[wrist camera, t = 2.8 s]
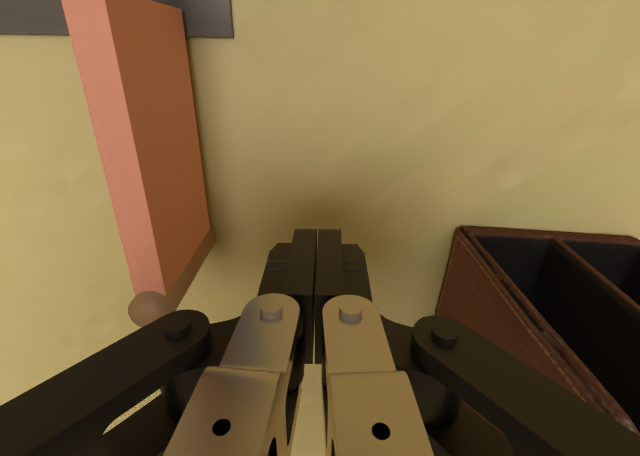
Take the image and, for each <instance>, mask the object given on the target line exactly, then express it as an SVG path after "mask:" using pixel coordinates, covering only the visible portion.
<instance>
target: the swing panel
mask: <svg viewBox="0 0 640 456" xmlns="http://www.w3.org/2000/svg"><path fill="white" fill-rule="evenodd" d="M61 2H62V6H63V10H64V14H65V18H66V22H67V26H68V30H69V34H70V38H71V42H72V46H73V50H74V54H75V58H76V62H77V65H78V69H79V73H80V77H81V81H82V85H83V89H84V93H85V97H86V101H87V105H88V109H89V113H90V117H91V121H92V125H93V129H94V133H95V137H96V141H97V145H98V149H99V153H100V157H101V161H102V165H103V169H104V173H105V177H106V181H107V185H108V189H109V192H110V196H111V200H112V204H113V208H114V212H115V216H116V220H117V224H118V228H119V232H120V236H121V240H122V244H123V248H124V252H125V256H126V260H127V264H128V268H129V272H130V276H131V280H132V284H133V288H134V292H135V298H134V299H133V300H132V301H131V303H130V304H129V307H128V314H129V316H130V318H131V320H132V321H133V322H134V323H135V324H137V325H138V326H140V327H144V326H146V325H148V324H149V323H151V322H153V321H155V320H157V319H158V318H160V317H162V316H164V315H166V314H169V313H171V312H175V311H176V309H177V307H178V305H179V304H180V302H181V300H182V298H183V297H184V295H185V293H186V292H187V290H188V288H189V286H190V285H191V283H192V281H193V279H194V278H195V276H196V274H197V272H198V271H199V269H200V267H201V266H202V264H203V262H204V260H205V259H206V257H207V255H208V253H209V252H210V250H211V248H212V246H213V245H214V243H215V236H214V233H213V232H212V230H211V229H210V224H209V216H208V209H207V201H206V193H205V186H204V178H203V170H202V163H201V155H200V147H199V140H198V132H197V124H196V117H195V109H194V101H193V94H192V86H191V78H190V70H189V63H188V55H187V47H186V40H185V32H184V24H183V17H182V9H179V8H176V7H172V6H169V5H165V4H161V3H158V2H154V1H150V0H61Z"/></svg>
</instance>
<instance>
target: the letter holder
mask: <svg viewBox="0 0 640 456" xmlns="http://www.w3.org/2000/svg"><path fill="white" fill-rule="evenodd" d="M435 316H444V317H449V318H452V319H454V320H457V321H459V322H460V323H462V324H464V325H465V326H467V327H469V328H470V329H472V330H473V331H475V332H476V333H478V334H480V335H481V336H483V337H484V338H486V339H488V340H489V341H491V342H492V343H494V344H495V345H497V346H499V347H500V348H502V349H503V350H505V351H506V352H508V353H510V354H511V355H513V356H514V357H516V358H518V359H519V360H521V361H522V362H524V363H525V364H527V365H529V366H530V367H532V368H533V369H535V370H536V371H538V372H540V373H541V374H543V375H544V376H546V377H548V378H549V379H551V380H552V381H554V382H555V383H557V384H559V385H560V386H562V387H563V388H565V389H566V390H568V391H570V392H571V393H573V394H574V395H576V396H578V397H579V398H581V399H582V400H584V401H585V402H587V403H589V404H590V405H592V406H593V407H595V408H597V409H598V410H600V411H601V412H603V413H604V414H606V415H608V416H609V417H611V418H612V419H614V420H615V421H617V422H619V423H620V424H622V425H623V426H625V427H627V428H628V429H630V430H631V431H633V432H634V433H636V434H638V435H639V436H640V240H638V239H637V238H634V237H631V236H615V235H599V234H584V233H568V232H553V231H537V230H523V229H509V228H493V227H474V226H464V227H459V228H457V229H456V233H455V237H454V241H453V245H452V250H451V254H450V259H449V263H448V267H447V272H446V276H445V280H444V284H443V288H442V292H441V296H440V300H439V303H438V307H437V310H436V315H435ZM462 402H463V403H464V404H465V405H467V406H468V407H469V408H470V409H472V410H473V411H474V412H475V413H476V414H478V415H479V416H480V417H481V418H483V419H484V420H485V421H486V422H488V423H489V424H490V425H491V426H493V427H494V428H495V429H496V430H498V431H499V432H500V433H501V434H502V435H504V434H503V433H502V432H501V431H500V430H499V429H498V428H496V427H495V426H494V425H493V424H491V423H490V422H489V421H488V420H486V419H485V418H484V417H483V416H481V415H480V414H479V413H478V412H476V411H475V410H474V409H473V408H471V407H470V406H469V405H468V404H466V403H465V402H464V401H463V400H462ZM504 436H505V435H504ZM505 437H506V436H505ZM506 438H507V437H506Z"/></svg>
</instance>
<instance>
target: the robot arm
mask: <svg viewBox="0 0 640 456" xmlns="http://www.w3.org/2000/svg"><path fill="white" fill-rule="evenodd" d="M314 325H315V364H322V387H321V392H322V407H323V422H324V437H325V452H326V456H640V436H639V435H638V434H636V433H634V432H633V431H631V430H630V429H628V428H627V427H625V426H623V425H622V424H620V423H619V422H617V421H615V420H614V419H612V418H611V417H609V416H608V415H606V414H604V413H603V412H601V411H600V410H598V409H597V408H595V407H593V406H592V405H590V404H589V403H587V402H585V401H584V400H582V399H581V398H579V397H578V396H576V395H574V394H573V393H571V392H570V391H568V390H566V389H565V388H563V387H562V386H560V385H559V384H557V383H555V382H554V381H552V380H551V379H549V378H548V377H546V376H544V375H543V374H541V373H540V372H538V371H536V370H535V369H533V368H532V367H530V366H529V365H527V364H525V363H524V362H522V361H521V360H519V359H518V358H516V357H514V356H513V355H511V354H510V353H508V352H506V351H505V350H503V349H502V348H500V347H499V346H497V345H495V344H494V343H492V342H491V341H489V340H488V339H486V338H484V337H483V336H481V335H480V334H478V333H476V332H475V331H473V330H472V329H470V328H469V327H467V326H465V325H464V324H462V323H460V322H459V321H457V320H454V319H452V318H449V317H444V316H427V317H423V318H421V319H420V320H418V321H417V322H416V323H415V325H414V327H409V326H405V325H401V324H398V323H395V322H392V321H390V320H388V319H386V318H384V317H383V316H382V315H380V314H379V311H378V309H377V307H376V306H375V305H374V304H373V302H372V296H371V290H370V284H369V278H368V272H367V266H366V260H365V254H364V252H363V251H362V250H361V249H360V248H359V247H358V245H357V244H341V229H319V233H318V251H317V229H295V231H294V236H293V242H292V243H278V244H277V245H276V246H275V247H274V248H273V249H272V250H271V251H270V252H269V256H268V259H267V263H266V266H265V271H264V274H263V277H262V281H261V284H260V288H259V291H258V295H257V297H256V298H254V299H252V300H251V301H250V302H248V304H247V305H246V306H245V308H244V310H243V312H242V314H241V316H239V317H237V318H234V319H231V320H227V321H223V322H218V323H213V324H210V323H209V320H208V318H207V316H206V315H204V314H203V313H201V312H199V311H195V310H179V311H175V312H171V313H169V314H166V315H164V316H162V317H160V318H158V319H157V320H155V321H153V322H151V323H149V324H148V325H146V326H144V327H142V328H140V329H139V330H137V331H135V332H133V333H131V334H130V335H128V336H126V337H124V338H122V339H120V340H119V341H117V342H115V343H113V344H111V345H110V346H108V347H106V348H104V349H102V350H101V351H99V352H97V353H95V354H93V355H92V356H90V357H88V358H86V359H84V360H83V361H81V362H79V363H77V364H75V365H73V366H72V367H70V368H68V369H66V370H64V371H63V372H61V373H59V374H57V375H55V376H54V377H52V378H50V379H48V380H46V381H45V382H43V383H41V384H39V385H37V386H35V387H34V388H32V389H30V390H28V391H26V392H25V393H23V394H21V395H19V396H17V397H16V398H14V399H12V400H10V401H8V402H7V403H5V404H3V405H1V406H0V456H290V455H291V449H292V443H293V437H294V431H295V425H296V419H297V413H298V407H299V401H300V395H301V387H302V386H301V382H302V380H303V376H304V364H313V345H314ZM158 389H160V391H161V394H160V395H159V396H158V397H156V398H155V399H153V400H152V401H151V402H149V403H148V404H146V405H145V406H144V407H142V408H141V409H139V410H138V411H137V412H135V413H134V414H132V415H131V416H129V417H128V418H127V419H125V420H124V421H122V422H121V423H120V424H118V425H117V426H115V427H114V428H113V429H111V430H110V431H108V432H107V433H105V434H103V433H104V431H105V430H106V428H107V427H108V426H109V425H110V423H112V422H113V421H114V420H115V419H116V418H118V417H119V416H121V415H122V414H124V413H125V412H126V411H128V410H129V409H131V408H132V407H134V406H135V405H137V404H138V403H139V402H141V401H142V400H144V399H145V398H147V397H148V396H149V395H151V394H152V393H154V392H155V391H157V390H158ZM462 400H463V401H464V402H465V403H466V404H468V405H469V406H470V407H471V408H473V409H474V410H475V411H476V412H478V413H479V414H480V415H481V416H483V417H484V418H485V419H486V420H488V421H489V422H490V423H491V424H493V425H494V426H495V427H496V428H498V429H499V430H500V431H501V432H502V433H503V434H504V435H505V436H506V437H507V438H506V437H505V436H504V435H502V434H501V433H500V432H499V431H498V430H496V429H495V428H494V427H493V426H491V425H490V424H489V423H488V422H486V421H485V420H484V419H483V418H481V417H480V416H479V415H478V414H476V413H475V412H474V411H473V410H472V409H470V408H469V407H468V406H467V405H465V404H464V403H463V402H462Z"/></svg>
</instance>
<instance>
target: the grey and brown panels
mask: <svg viewBox="0 0 640 456" xmlns="http://www.w3.org/2000/svg"><path fill="white" fill-rule="evenodd" d="M150 1H154V2H158V3H161V4H165V5H169V6H172V7H176V8H179V9H182V17H183V24H184V32H185V37H234V35H233V22H232V10H231V0H150ZM0 34H48V35H70V34H69V30H68V26H67V22H66V18H65V14H64V10H63V6H62V2H61V0H0Z"/></svg>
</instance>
